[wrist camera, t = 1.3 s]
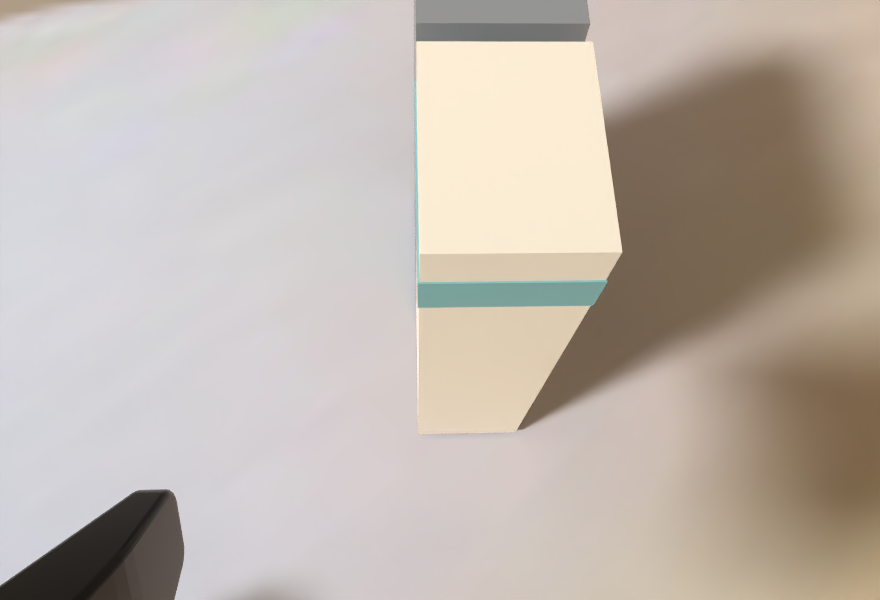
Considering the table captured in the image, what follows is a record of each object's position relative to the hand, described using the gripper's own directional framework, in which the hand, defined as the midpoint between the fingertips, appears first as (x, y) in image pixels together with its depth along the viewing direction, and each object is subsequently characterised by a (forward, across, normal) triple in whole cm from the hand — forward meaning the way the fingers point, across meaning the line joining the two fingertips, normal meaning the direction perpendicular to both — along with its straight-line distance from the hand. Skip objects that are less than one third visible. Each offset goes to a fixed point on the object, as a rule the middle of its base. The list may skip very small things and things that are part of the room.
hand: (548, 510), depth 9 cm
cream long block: (+13, 0, +5) cm, 14 cm away
